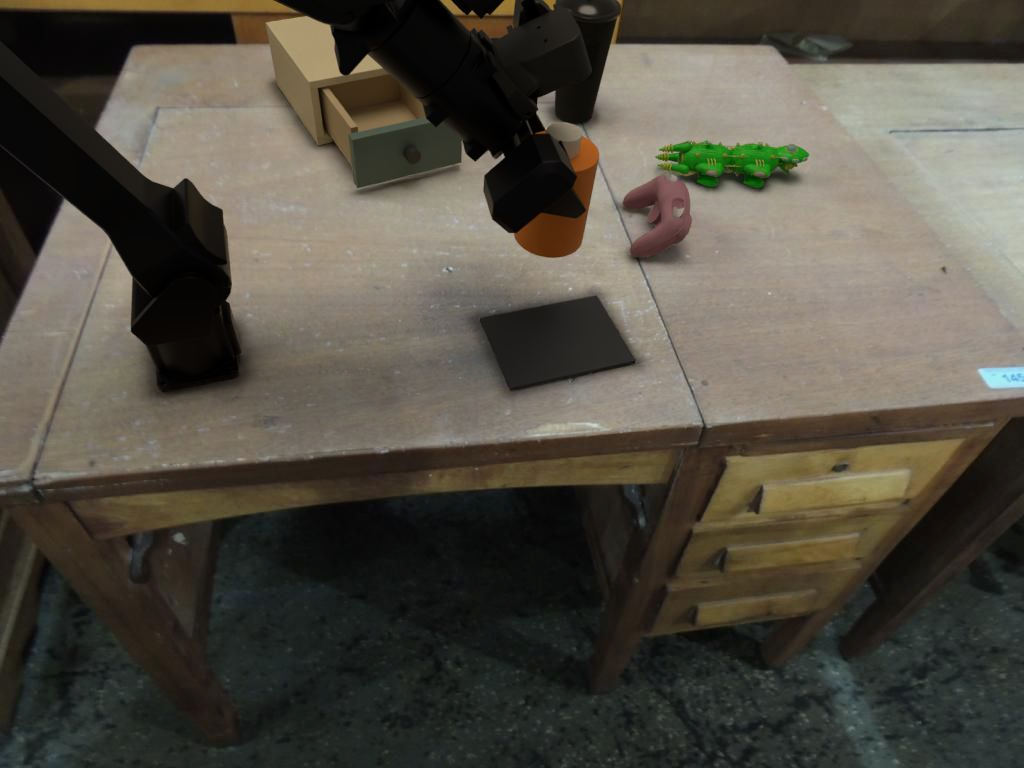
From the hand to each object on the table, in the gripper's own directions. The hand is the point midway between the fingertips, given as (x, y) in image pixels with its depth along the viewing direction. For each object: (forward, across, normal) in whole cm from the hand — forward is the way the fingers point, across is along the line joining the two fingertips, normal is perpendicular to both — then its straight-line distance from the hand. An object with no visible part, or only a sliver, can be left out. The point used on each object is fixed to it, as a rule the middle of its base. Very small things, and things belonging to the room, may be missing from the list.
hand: (571, 190), depth 61 cm
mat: (+9, -4, +10) cm, 14 cm away
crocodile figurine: (+28, +20, -10) cm, 35 cm away
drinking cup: (+18, +35, +1) cm, 39 cm away
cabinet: (-2, +40, +21) cm, 46 cm away
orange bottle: (+2, 0, +4) cm, 5 cm away
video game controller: (+19, +10, 0) cm, 21 cm away
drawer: (0, +29, +18) cm, 34 cm away
